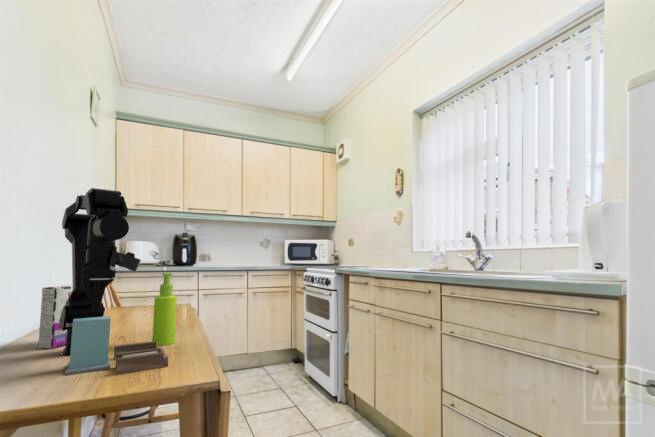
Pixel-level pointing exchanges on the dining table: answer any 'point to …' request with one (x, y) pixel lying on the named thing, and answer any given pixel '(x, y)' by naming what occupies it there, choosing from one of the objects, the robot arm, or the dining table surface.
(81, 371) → the slate mat
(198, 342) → the dining table surface
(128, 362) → the walnut rack
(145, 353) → the gray notched block
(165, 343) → the soap dispenser
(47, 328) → the candy bar box
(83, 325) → the light blue rectangular prism
